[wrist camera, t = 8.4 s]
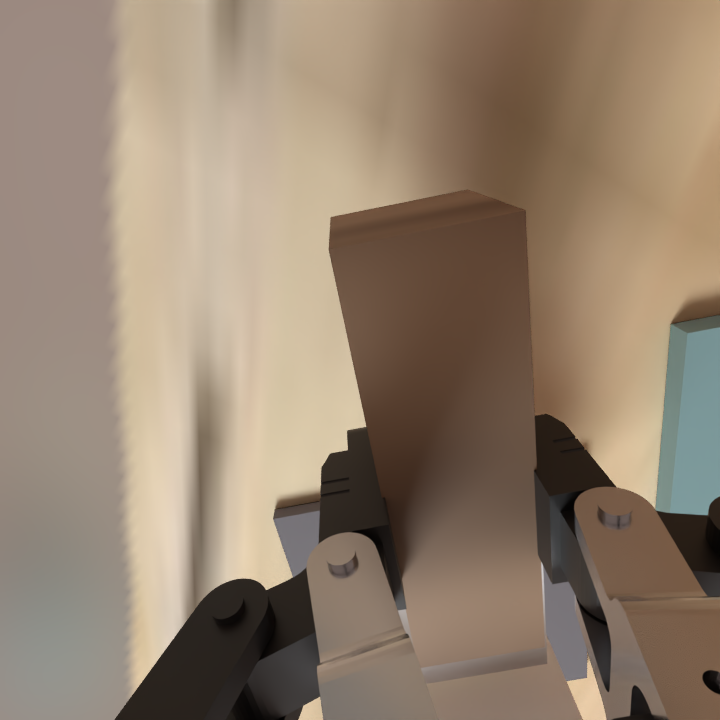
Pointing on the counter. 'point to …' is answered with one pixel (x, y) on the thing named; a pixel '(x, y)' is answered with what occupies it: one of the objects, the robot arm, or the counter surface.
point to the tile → (508, 695)
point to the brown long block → (450, 420)
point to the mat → (561, 619)
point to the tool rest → (691, 419)
